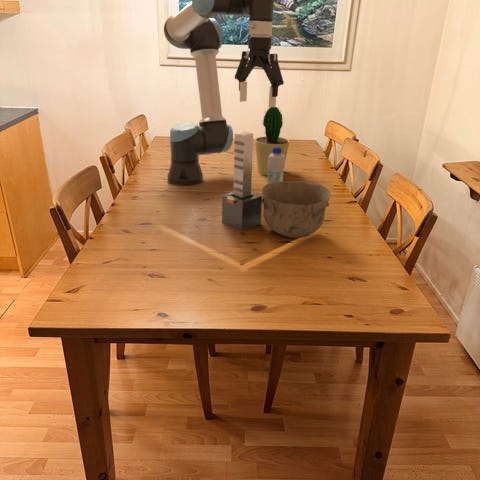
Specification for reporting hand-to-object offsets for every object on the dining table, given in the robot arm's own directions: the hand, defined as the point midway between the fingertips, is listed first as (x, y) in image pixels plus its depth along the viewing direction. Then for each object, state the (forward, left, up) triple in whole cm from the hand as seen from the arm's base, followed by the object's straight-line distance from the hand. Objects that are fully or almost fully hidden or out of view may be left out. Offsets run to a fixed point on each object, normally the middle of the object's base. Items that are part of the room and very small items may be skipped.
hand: (257, 104), depth 155 cm
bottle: (+1, +11, -37) cm, 39 cm away
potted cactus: (-21, +35, -37) cm, 55 cm away
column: (+12, -19, -27) cm, 35 cm away
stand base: (+12, -19, -37) cm, 43 cm away
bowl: (+28, -11, -37) cm, 47 cm away
